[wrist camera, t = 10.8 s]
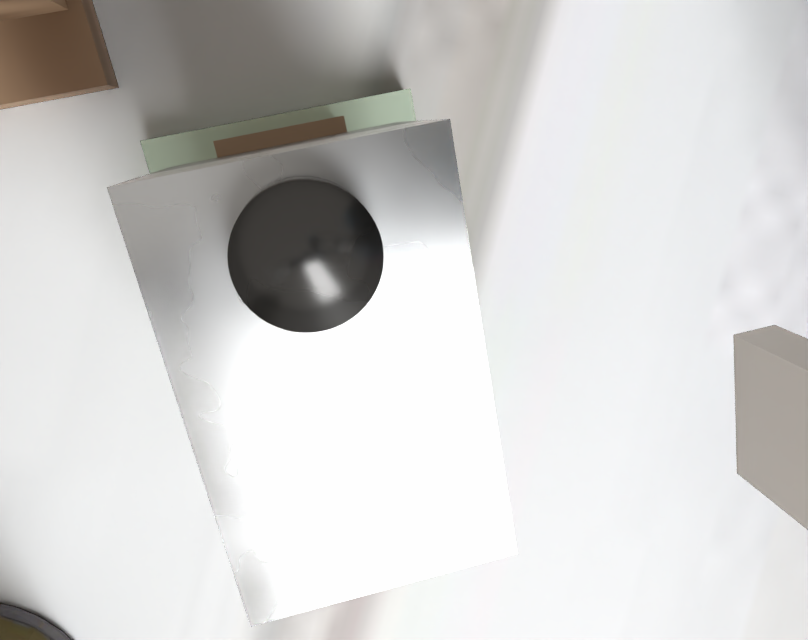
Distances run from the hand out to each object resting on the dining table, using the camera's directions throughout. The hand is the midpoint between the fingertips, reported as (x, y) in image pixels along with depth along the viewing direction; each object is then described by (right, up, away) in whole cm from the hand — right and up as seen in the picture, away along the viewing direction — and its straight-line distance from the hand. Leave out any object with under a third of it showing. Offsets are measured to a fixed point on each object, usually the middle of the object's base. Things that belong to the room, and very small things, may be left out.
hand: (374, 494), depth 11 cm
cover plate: (-2, +2, +7) cm, 8 cm away
